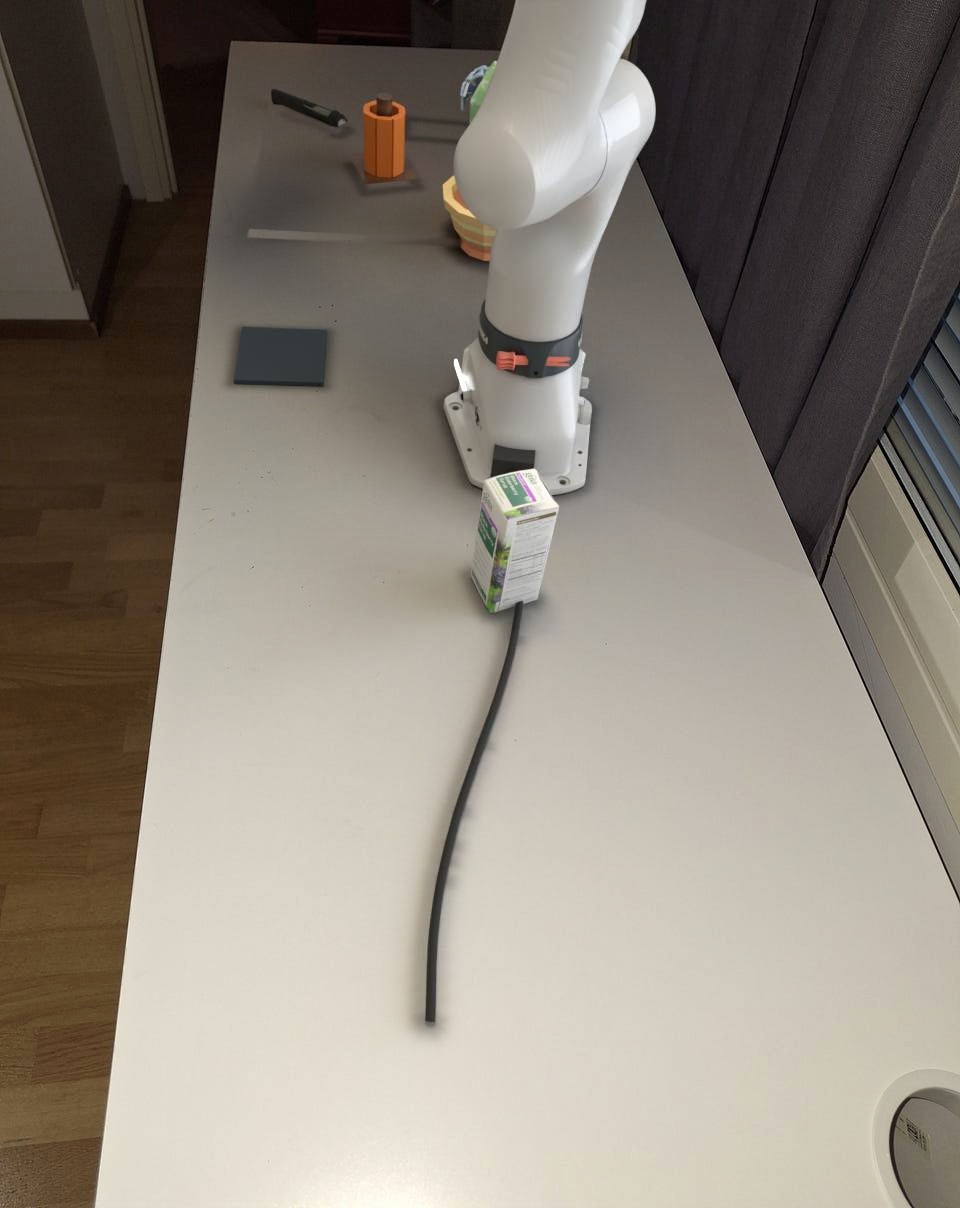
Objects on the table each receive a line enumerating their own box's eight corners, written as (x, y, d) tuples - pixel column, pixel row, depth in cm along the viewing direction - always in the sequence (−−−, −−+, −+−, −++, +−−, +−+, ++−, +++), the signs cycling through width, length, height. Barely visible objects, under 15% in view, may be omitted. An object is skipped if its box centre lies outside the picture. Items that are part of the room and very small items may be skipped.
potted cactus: (519, 214, 144) (541, 41, 124) (554, 268, 135) (583, 91, 115) (426, 222, 140) (433, 45, 120) (456, 278, 131) (469, 97, 111)
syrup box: (468, 575, 97) (480, 478, 85) (518, 561, 99) (535, 464, 87) (489, 615, 94) (504, 520, 82) (540, 600, 96) (561, 505, 84)
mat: (323, 386, 114) (323, 382, 113) (234, 383, 113) (233, 379, 112) (326, 333, 121) (326, 329, 120) (242, 330, 119) (242, 326, 119)
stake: (418, 187, 146) (421, 107, 136) (365, 193, 143) (364, 111, 134) (402, 160, 151) (403, 81, 141) (349, 165, 148) (347, 84, 139)
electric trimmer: (281, 102, 160) (279, 83, 158) (351, 130, 156) (350, 110, 153) (267, 110, 158) (265, 90, 156) (337, 137, 154) (336, 118, 151)
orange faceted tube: (404, 178, 144) (405, 120, 137) (363, 176, 144) (363, 118, 137) (403, 159, 148) (404, 101, 141) (364, 156, 148) (363, 99, 141)
